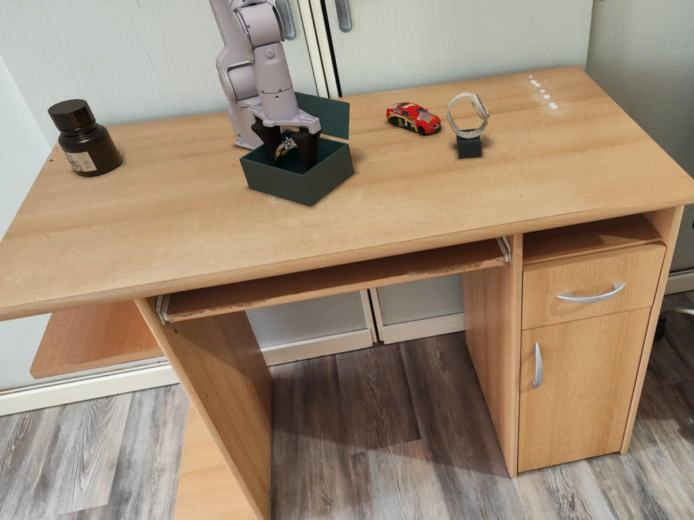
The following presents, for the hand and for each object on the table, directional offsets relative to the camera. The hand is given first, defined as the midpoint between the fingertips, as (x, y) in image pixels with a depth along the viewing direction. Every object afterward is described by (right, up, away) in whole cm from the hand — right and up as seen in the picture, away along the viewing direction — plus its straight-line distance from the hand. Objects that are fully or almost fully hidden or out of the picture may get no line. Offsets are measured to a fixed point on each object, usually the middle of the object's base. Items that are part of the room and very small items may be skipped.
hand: (295, 163), depth 105 cm
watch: (+32, +5, +8) cm, 33 cm away
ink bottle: (-43, +3, +11) cm, 44 cm away
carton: (0, -2, +3) cm, 4 cm away
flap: (+4, +9, +1) cm, 10 cm away
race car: (+20, +13, +17) cm, 30 cm away
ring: (0, -2, +3) cm, 4 cm away
